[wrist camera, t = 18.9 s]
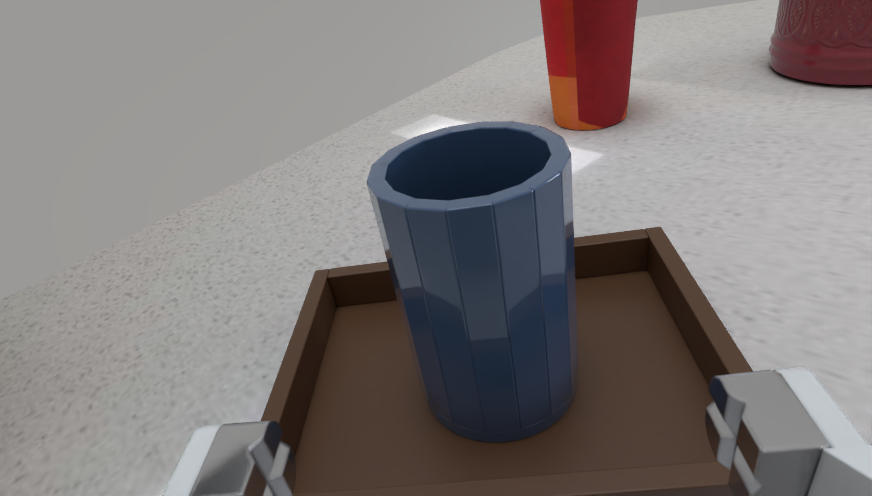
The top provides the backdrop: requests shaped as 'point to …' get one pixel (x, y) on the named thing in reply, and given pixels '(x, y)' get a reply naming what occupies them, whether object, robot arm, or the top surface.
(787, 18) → the kitchen canister
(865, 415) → the top surface
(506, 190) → the tumbler
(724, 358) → the tray
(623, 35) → the coffee cup
